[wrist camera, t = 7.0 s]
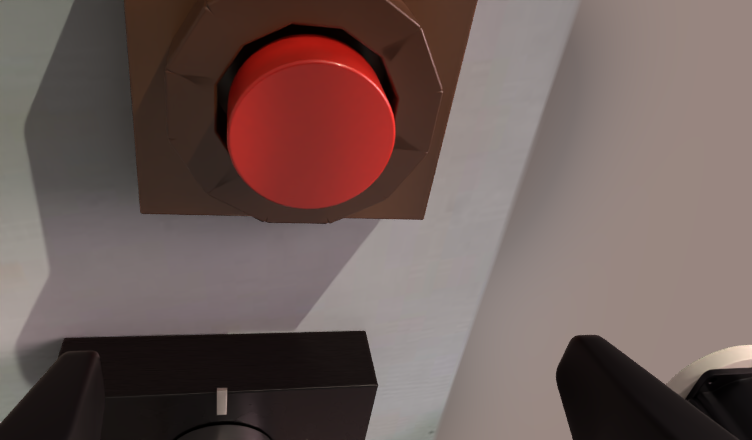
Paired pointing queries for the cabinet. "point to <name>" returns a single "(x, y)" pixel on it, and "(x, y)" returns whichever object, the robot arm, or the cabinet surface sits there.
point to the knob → (224, 433)
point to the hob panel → (235, 384)
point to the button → (308, 122)
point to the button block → (227, 54)
